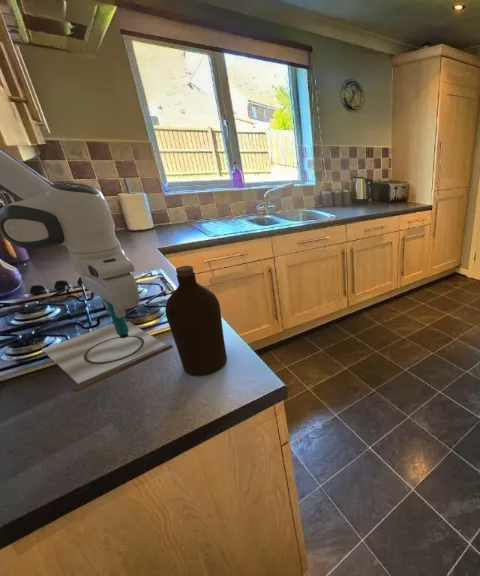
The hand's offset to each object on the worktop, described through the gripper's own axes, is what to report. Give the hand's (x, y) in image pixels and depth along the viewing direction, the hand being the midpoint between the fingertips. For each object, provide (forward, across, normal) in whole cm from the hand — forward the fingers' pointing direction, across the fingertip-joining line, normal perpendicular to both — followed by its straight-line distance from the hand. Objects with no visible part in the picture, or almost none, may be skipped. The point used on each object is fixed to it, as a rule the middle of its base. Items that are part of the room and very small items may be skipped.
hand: (117, 314), depth 78 cm
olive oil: (+11, +20, +8) cm, 24 cm away
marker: (+6, 0, 0) cm, 6 cm away
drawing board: (+11, -5, -3) cm, 12 cm away
